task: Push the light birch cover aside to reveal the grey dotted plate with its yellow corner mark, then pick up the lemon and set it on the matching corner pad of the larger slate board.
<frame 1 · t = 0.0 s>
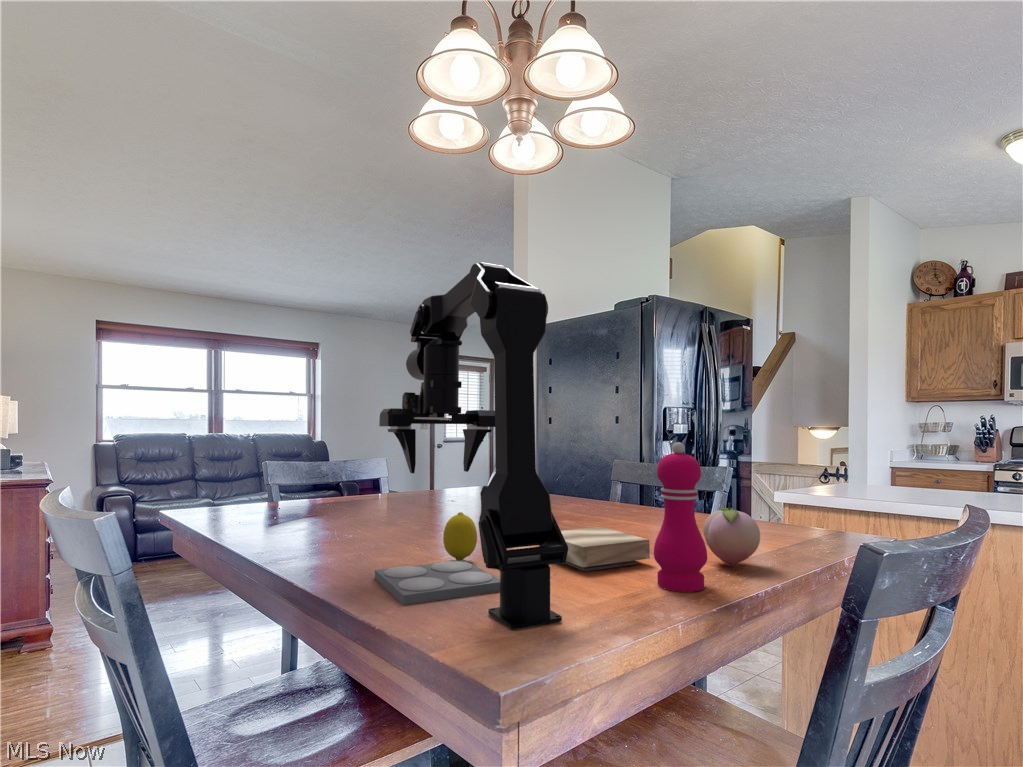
hand: (439, 472, 92), 15 cm above the table, fingers open, 9 cm apart
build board: (437, 584, 80), on the table
decorative fruit: (732, 567, 91), on the table
lemon: (460, 563, 93), on the table
cover: (592, 545, 95), point 2 cm above the table, slide at 0.0 cm
pepper mill: (680, 587, 79), on the table
grey dotted plate: (592, 560, 94), on the table
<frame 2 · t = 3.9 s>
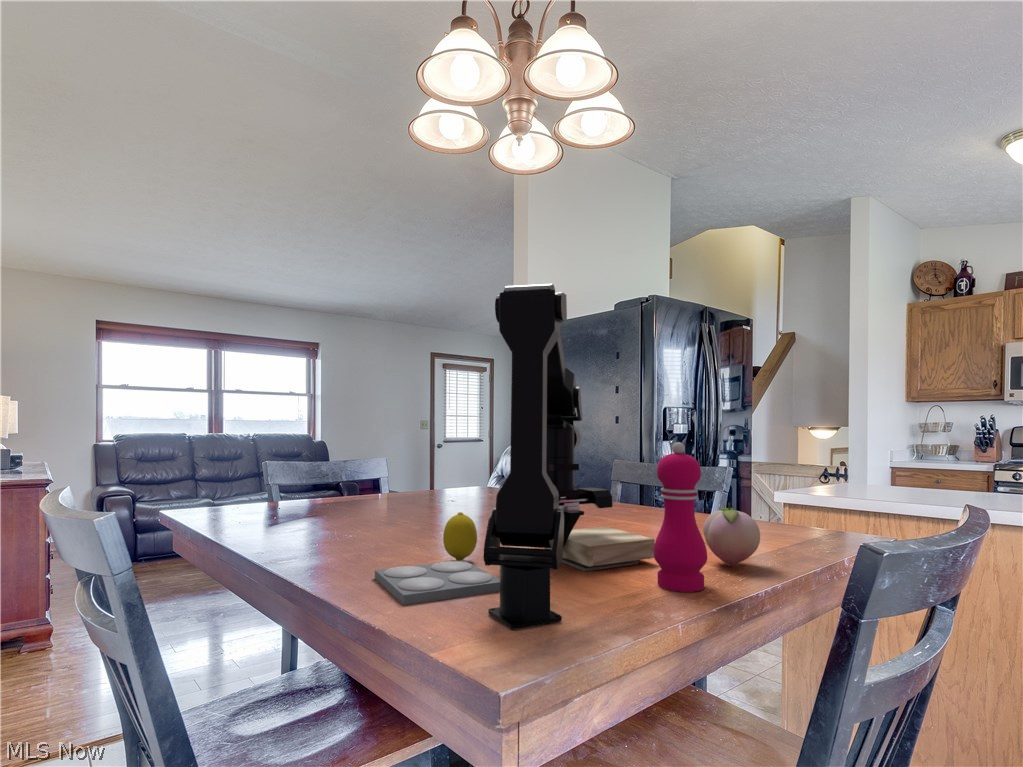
hand: (556, 554, 91), 2 cm above the table, fingers closed
cover: (598, 544, 95), point 3 cm above the table, slide at 1.1 cm, touching gripper
everything else where it was.
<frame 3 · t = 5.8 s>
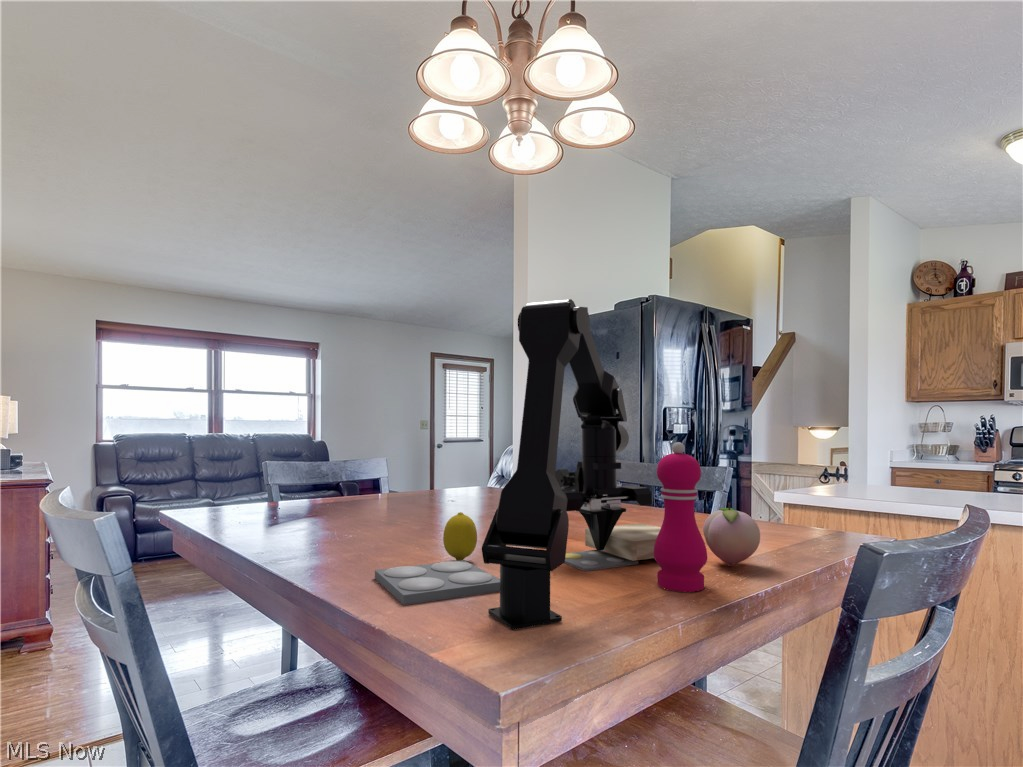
hand: (599, 550, 95), 2 cm above the table, fingers closed
cover: (637, 540, 99), point 2 cm above the table, slide at 9.6 cm, touching gripper
everything else where it was.
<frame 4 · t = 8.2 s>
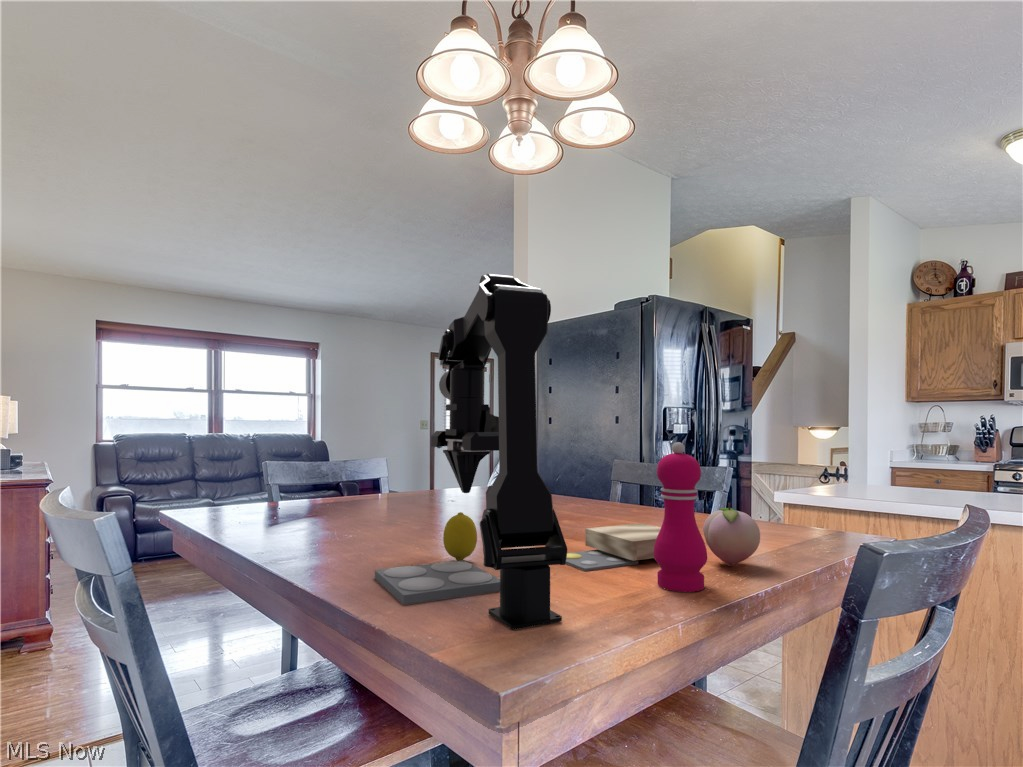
hand: (465, 492, 94), 11 cm above the table, fingers closed
cover: (637, 540, 99), point 2 cm above the table, slide at 9.6 cm
everything else where it was.
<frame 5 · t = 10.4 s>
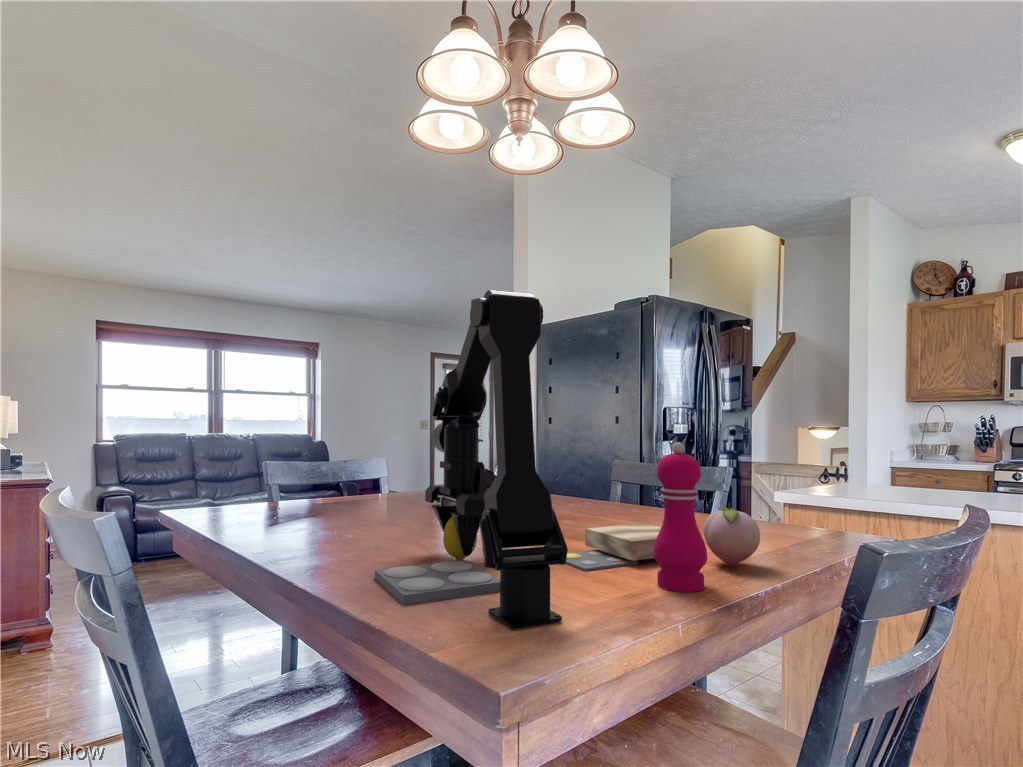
hand: (460, 551, 93), 2 cm above the table, fingers closed on lemon, 5 cm apart
lemon: (460, 563, 93), on the table, touching gripper
everything else where it was.
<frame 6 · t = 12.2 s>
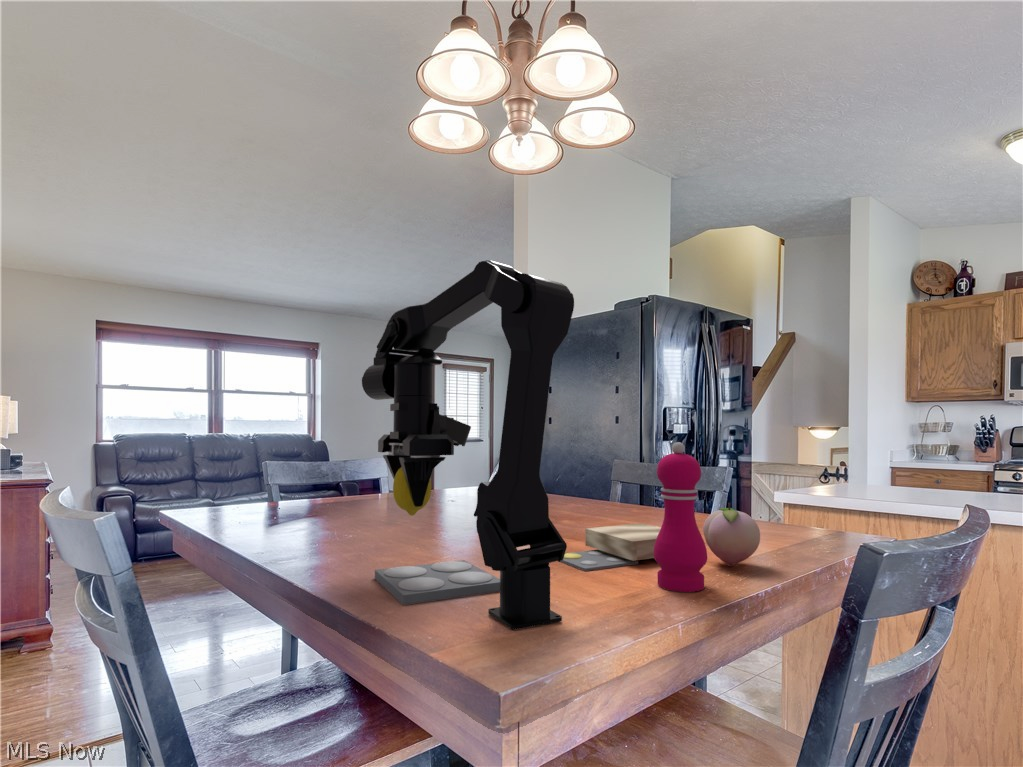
hand: (412, 504, 83), 11 cm above the table, fingers closed on lemon, 5 cm apart
lemon: (412, 517, 83), point 9 cm above the table, touching gripper
everything else where it was.
when the fingers open (4 cm above the table, at t = 14.0 s): lemon stays where it is, resting on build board.
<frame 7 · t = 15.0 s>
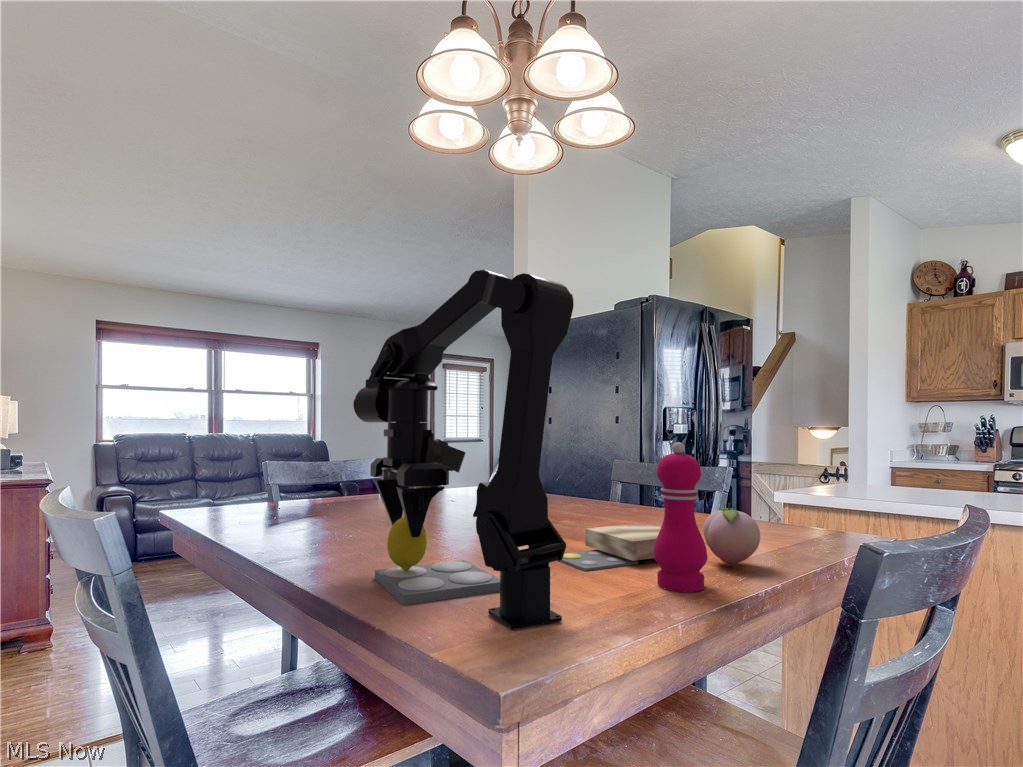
hand: (405, 531, 82), 7 cm above the table, fingers open, 9 cm apart
lemon: (405, 572, 81), point 1 cm above the table, touching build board
everything else where it was.
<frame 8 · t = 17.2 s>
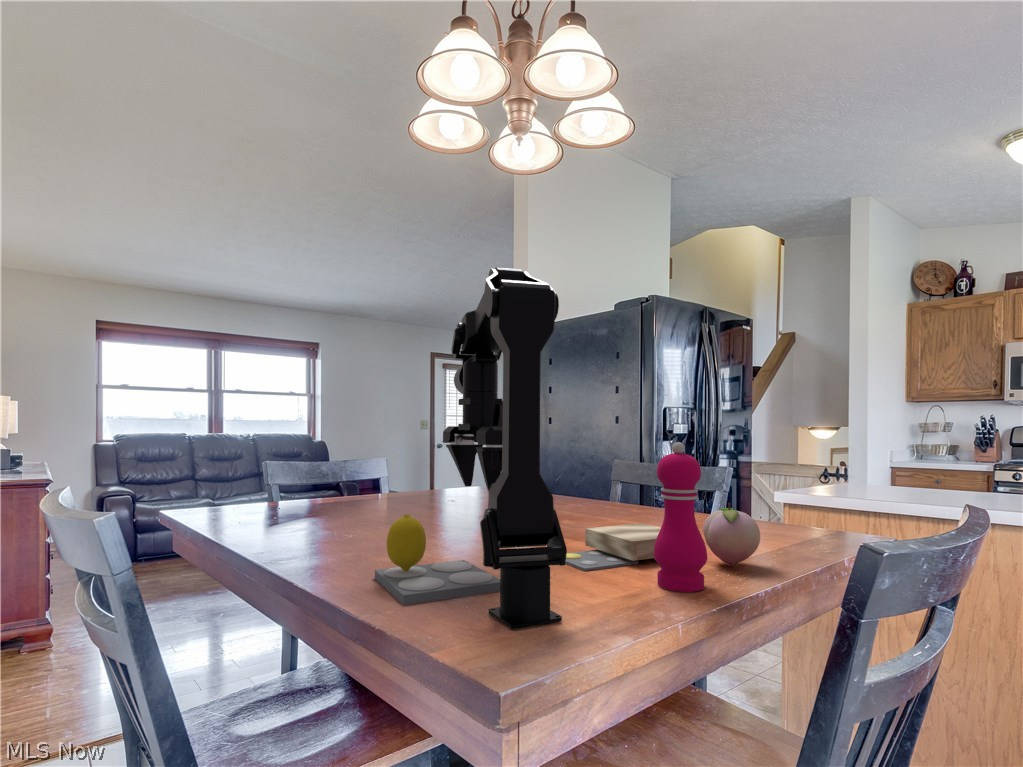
hand: (479, 488, 92), 12 cm above the table, fingers open, 9 cm apart
nothing on the table moved.
at the end: cover slide at 9.6 cm; lemon inside the target area (0.1 cm from its centre), point 1.2 cm above the table; the gripper is holding nothing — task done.
